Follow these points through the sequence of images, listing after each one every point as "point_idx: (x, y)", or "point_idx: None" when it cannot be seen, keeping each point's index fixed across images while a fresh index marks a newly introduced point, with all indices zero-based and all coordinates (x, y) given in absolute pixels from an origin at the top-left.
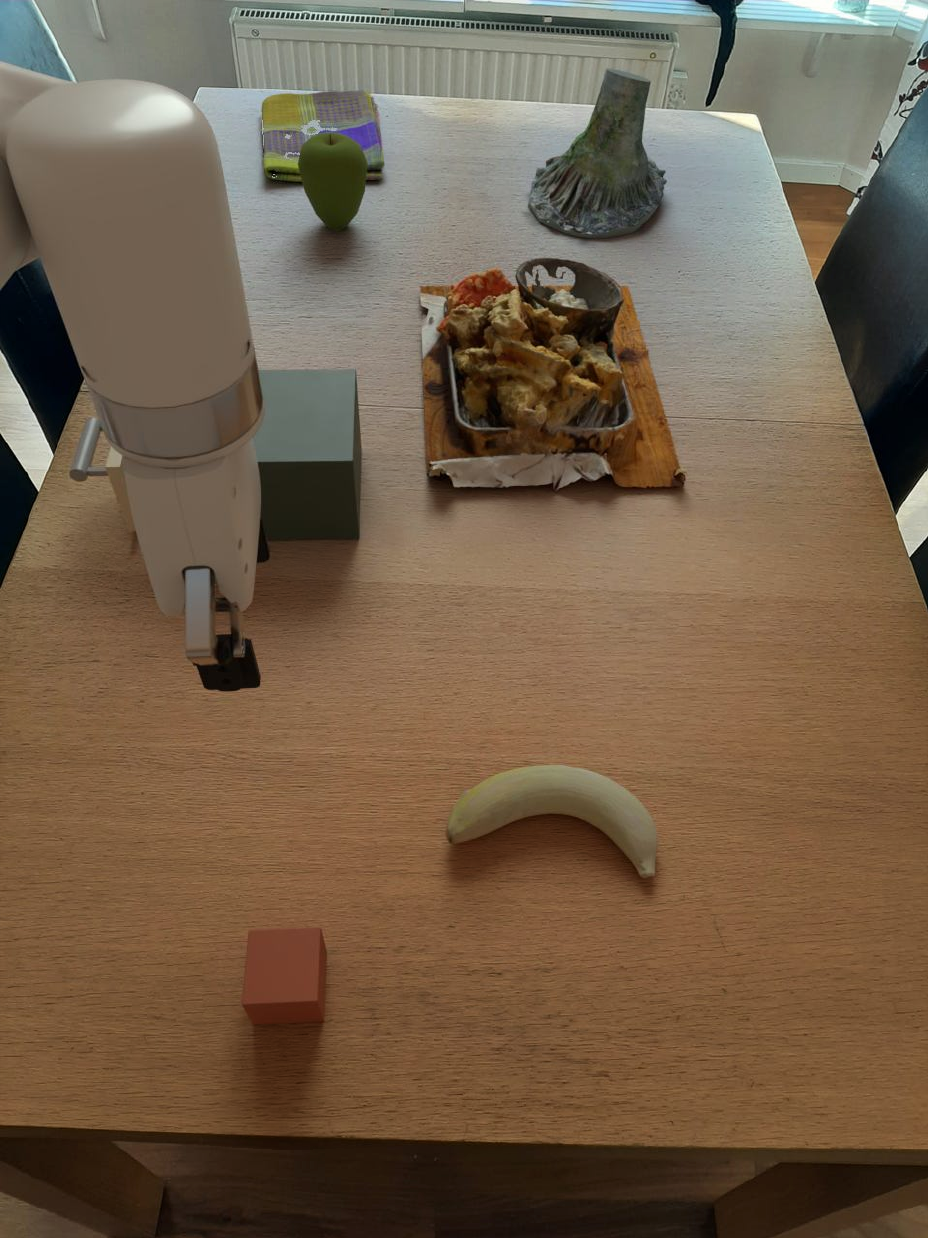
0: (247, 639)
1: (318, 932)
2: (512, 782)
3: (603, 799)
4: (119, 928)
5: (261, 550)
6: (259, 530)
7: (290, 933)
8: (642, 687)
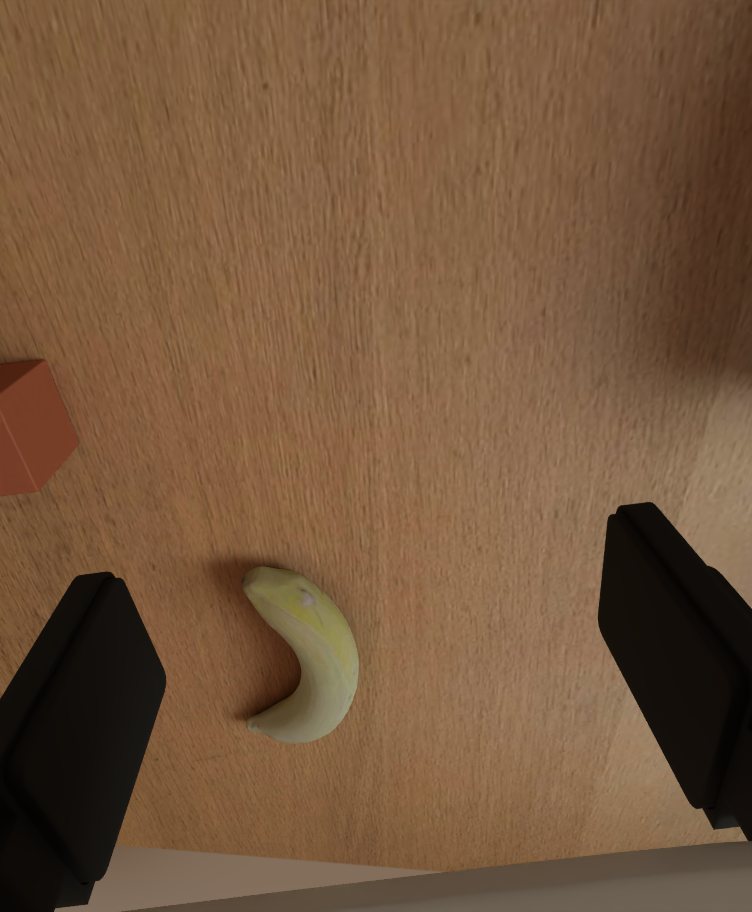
0: (82, 897)
1: (29, 490)
2: (318, 652)
3: (310, 722)
4: (4, 118)
5: (621, 663)
6: (669, 761)
7: (13, 456)
8: (482, 714)
